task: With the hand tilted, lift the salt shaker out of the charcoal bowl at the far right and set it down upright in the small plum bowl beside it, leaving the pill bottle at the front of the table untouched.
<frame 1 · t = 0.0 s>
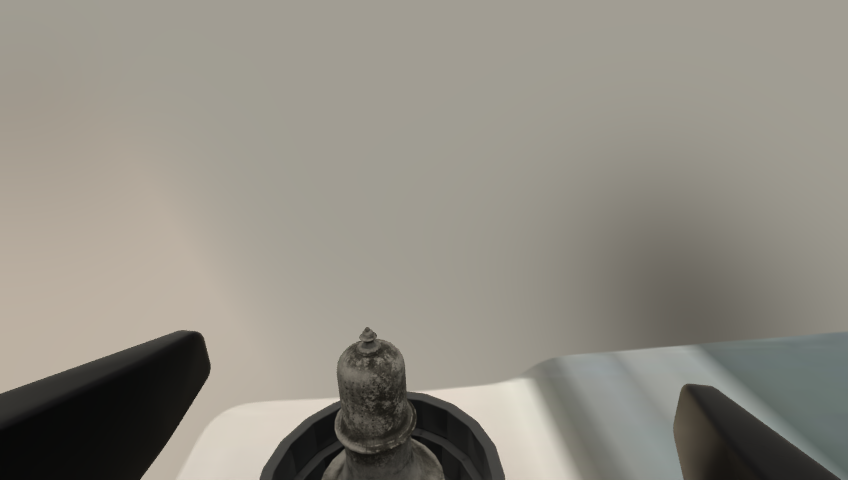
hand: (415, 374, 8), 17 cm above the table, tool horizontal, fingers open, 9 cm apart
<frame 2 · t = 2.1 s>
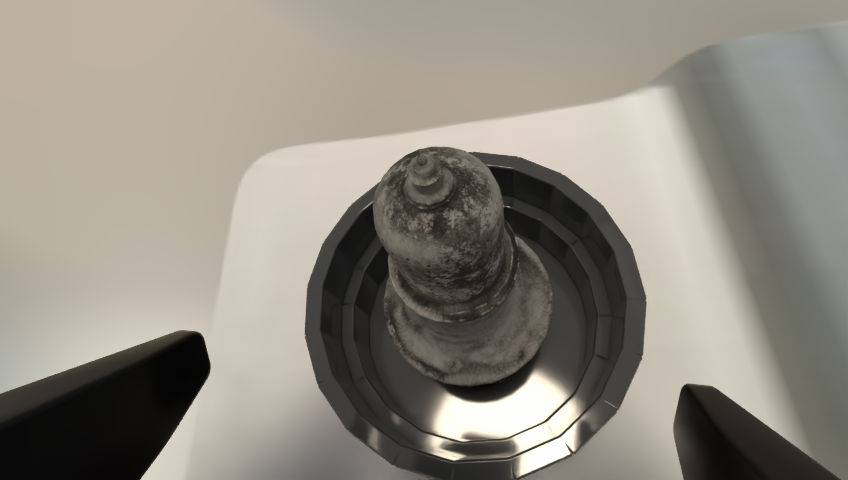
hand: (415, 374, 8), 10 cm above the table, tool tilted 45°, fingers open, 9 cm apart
salt shaker: (473, 323, 19), resting on charcoal bowl
charcoal bowl: (473, 324, 19), on the table
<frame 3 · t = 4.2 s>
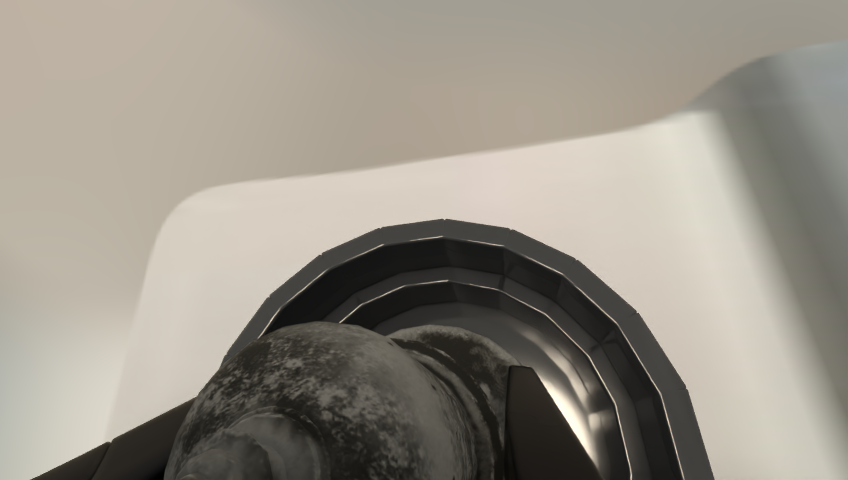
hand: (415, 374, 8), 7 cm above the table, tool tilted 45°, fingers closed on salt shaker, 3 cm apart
salt shaker: (449, 448, 13), resting on charcoal bowl, touching gripper
charcoal bowl: (450, 448, 14), on the table
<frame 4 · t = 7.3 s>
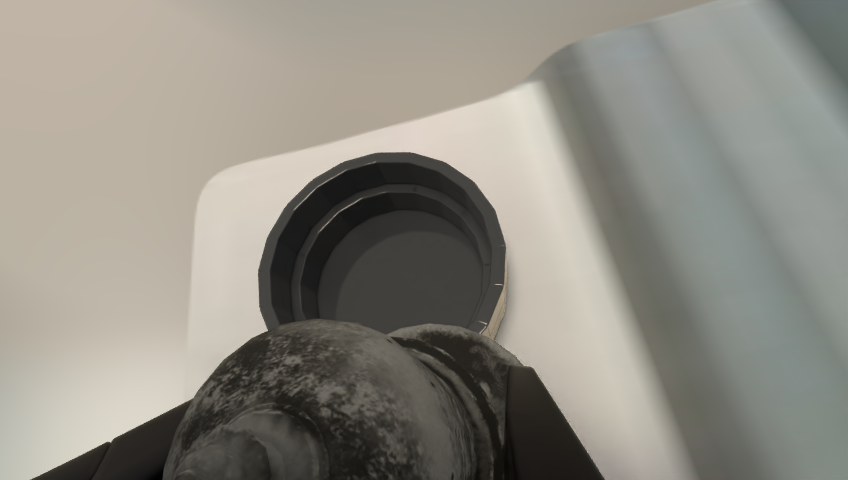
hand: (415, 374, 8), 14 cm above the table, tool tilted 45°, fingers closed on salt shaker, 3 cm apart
salt shaker: (449, 447, 13), point 7 cm above the table, touching gripper
charcoal bowl: (399, 288, 24), on the table
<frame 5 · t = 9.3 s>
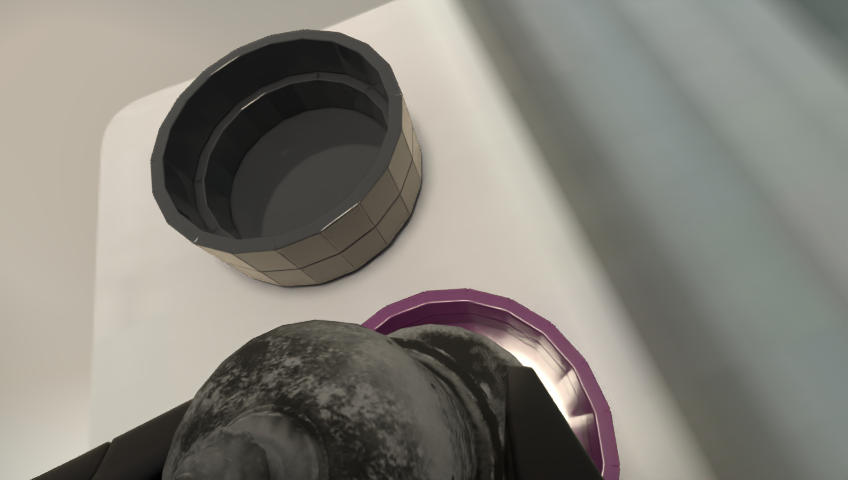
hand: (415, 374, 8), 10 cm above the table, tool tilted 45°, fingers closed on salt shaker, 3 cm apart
salt shaker: (450, 448, 13), point 3 cm above the table, touching gripper
charcoal bowl: (315, 182, 23), on the table
plum bowl: (462, 437, 17), on the table
when the fingers open (7 cm above the table, at t = 10.6 s): salt shaker stays where it is, resting on plum bowl.
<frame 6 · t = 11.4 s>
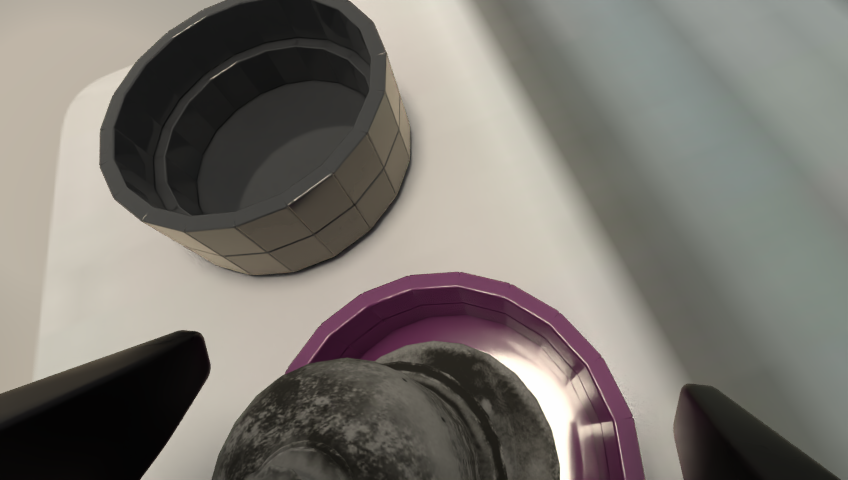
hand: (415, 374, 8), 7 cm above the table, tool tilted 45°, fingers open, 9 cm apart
salt shaker: (452, 457, 14), resting on plum bowl
charcoal bowl: (292, 161, 20), on the table
plum bowl: (453, 450, 14), on the table
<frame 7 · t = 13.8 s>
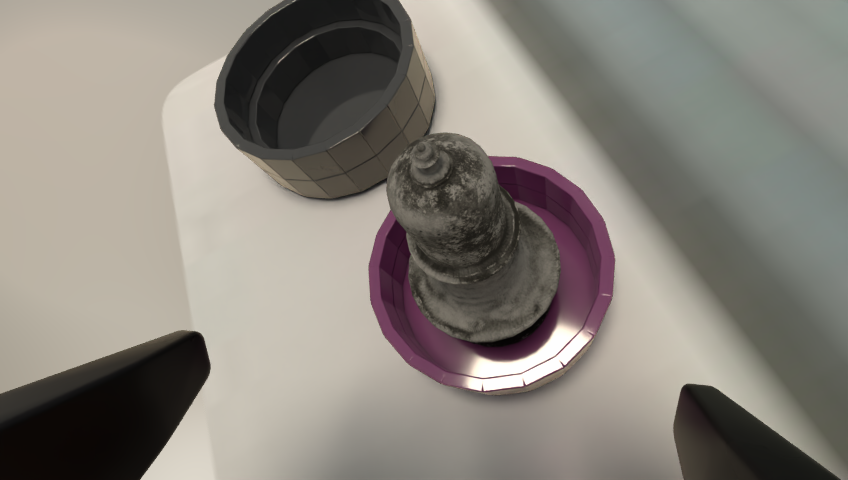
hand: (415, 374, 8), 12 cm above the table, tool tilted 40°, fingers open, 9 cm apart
salt shaker: (493, 289, 20), resting on plum bowl
charcoal bowl: (346, 116, 27), on the table
plum bowl: (493, 285, 20), on the table
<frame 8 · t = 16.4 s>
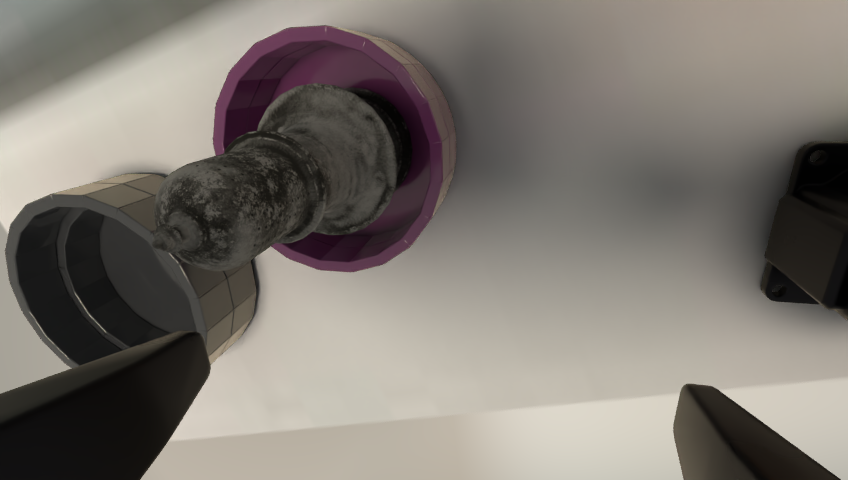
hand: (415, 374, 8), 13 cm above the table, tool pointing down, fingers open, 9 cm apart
salt shaker: (358, 147, 20), resting on plum bowl
charcoal bowl: (171, 267, 26), on the table
plum bowl: (354, 146, 20), on the table
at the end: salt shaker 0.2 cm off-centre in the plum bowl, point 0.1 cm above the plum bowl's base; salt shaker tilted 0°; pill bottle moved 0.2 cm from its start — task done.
